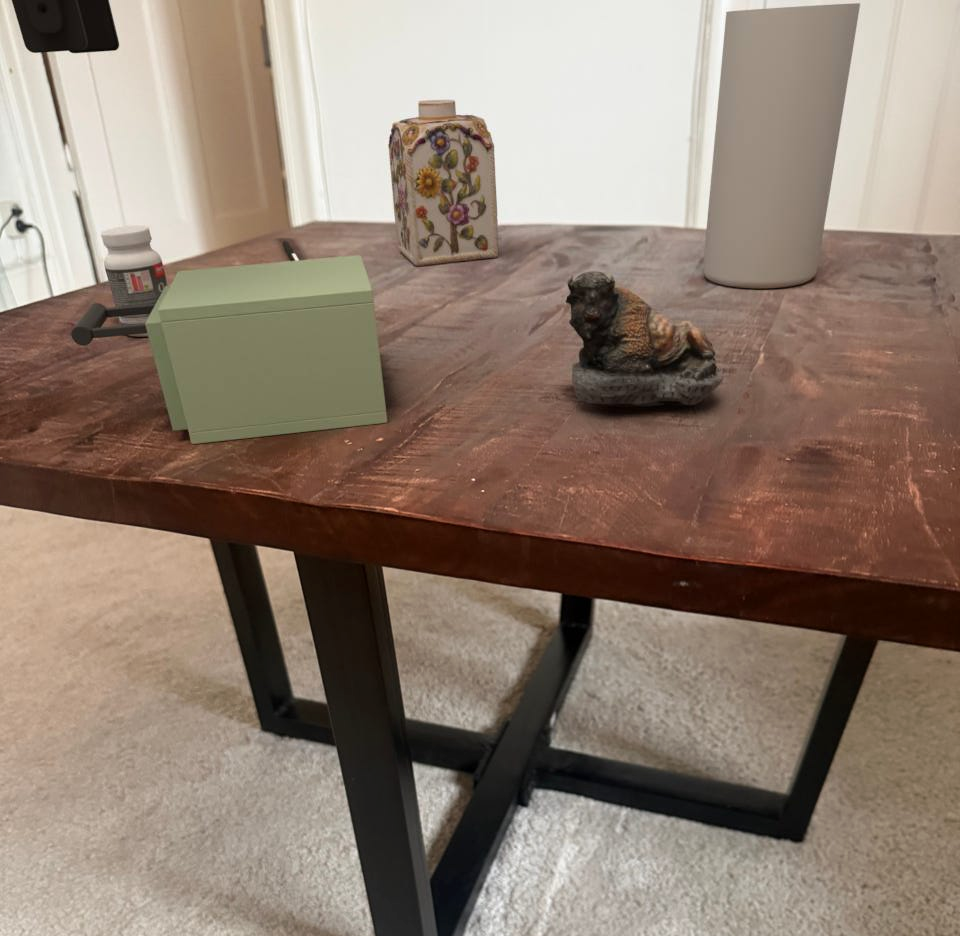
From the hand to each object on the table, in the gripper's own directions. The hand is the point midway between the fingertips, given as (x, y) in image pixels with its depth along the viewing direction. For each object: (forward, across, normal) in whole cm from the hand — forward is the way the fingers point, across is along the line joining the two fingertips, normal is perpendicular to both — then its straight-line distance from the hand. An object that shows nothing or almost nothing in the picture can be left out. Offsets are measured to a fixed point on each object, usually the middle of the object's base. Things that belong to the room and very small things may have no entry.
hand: (77, 51), depth 51 cm
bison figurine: (+25, +2, +35) cm, 43 cm away
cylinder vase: (+25, -34, +61) cm, 74 cm away
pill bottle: (+24, -35, -7) cm, 43 cm away
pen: (+24, -68, +7) cm, 73 cm away
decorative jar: (+25, -62, +28) cm, 72 cm away
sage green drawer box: (+25, -6, +8) cm, 27 cm away
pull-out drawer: (+24, -6, +3) cm, 25 cm away
